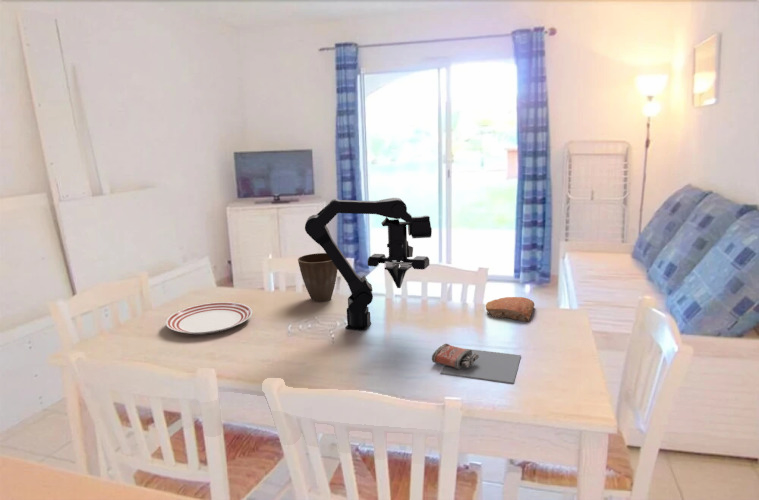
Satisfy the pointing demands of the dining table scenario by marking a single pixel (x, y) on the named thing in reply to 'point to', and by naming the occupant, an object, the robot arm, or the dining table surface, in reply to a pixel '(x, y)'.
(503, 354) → the mat
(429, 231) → the robot arm
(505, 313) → the brown rounded lump
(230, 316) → the dinner plate
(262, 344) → the dining table surface
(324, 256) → the plant pot
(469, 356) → the lighter
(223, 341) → the dining table surface
